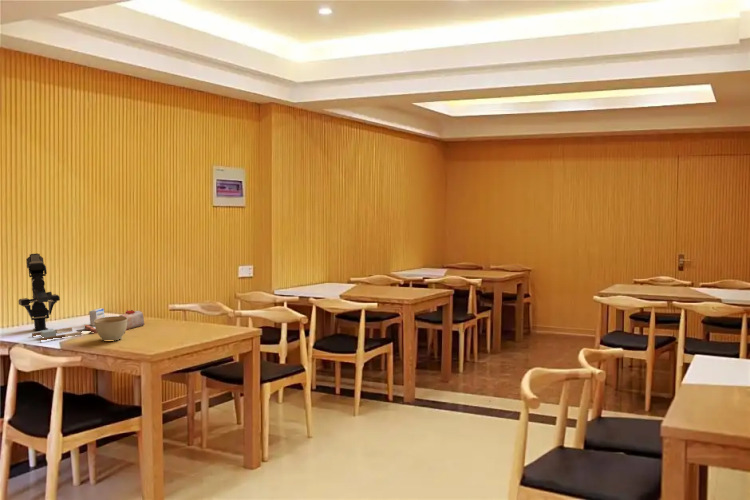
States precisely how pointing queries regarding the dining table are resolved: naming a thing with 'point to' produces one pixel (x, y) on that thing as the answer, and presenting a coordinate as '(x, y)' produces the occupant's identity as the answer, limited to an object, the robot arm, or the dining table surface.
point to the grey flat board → (87, 327)
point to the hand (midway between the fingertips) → (40, 316)
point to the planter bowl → (111, 327)
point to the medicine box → (96, 315)
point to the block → (48, 333)
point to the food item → (134, 319)
